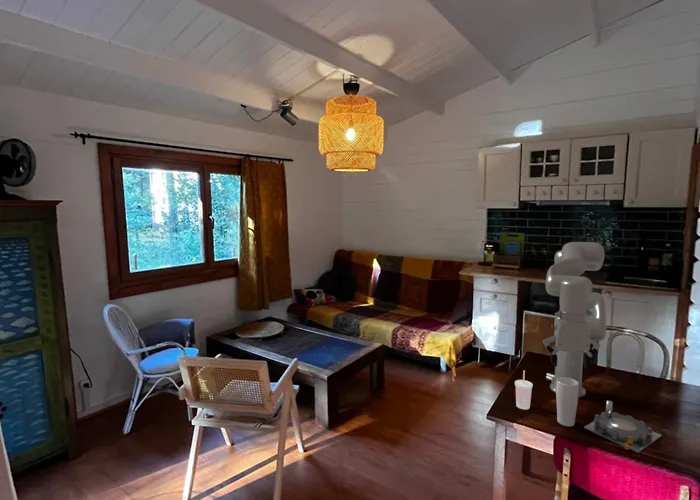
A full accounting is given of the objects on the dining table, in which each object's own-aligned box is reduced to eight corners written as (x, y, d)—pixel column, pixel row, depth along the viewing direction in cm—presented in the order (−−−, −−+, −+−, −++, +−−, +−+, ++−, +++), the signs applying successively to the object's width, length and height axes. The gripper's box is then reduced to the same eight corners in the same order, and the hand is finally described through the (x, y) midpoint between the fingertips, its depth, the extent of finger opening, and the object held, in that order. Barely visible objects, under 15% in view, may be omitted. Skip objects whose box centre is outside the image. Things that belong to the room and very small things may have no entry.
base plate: (580, 429, 131) (580, 425, 130) (608, 414, 140) (608, 410, 140) (635, 455, 117) (635, 450, 117) (661, 436, 126) (662, 432, 126)
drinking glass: (550, 418, 138) (552, 377, 136) (568, 417, 138) (570, 376, 137) (562, 429, 131) (564, 386, 130) (581, 427, 132) (583, 385, 130)
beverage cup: (513, 408, 145) (514, 372, 144) (515, 401, 151) (516, 365, 149) (531, 412, 142) (532, 375, 141) (532, 404, 148) (533, 368, 146)
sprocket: (621, 447, 120) (623, 425, 119) (582, 420, 135) (583, 400, 135) (665, 441, 123) (667, 419, 122) (622, 415, 138) (623, 396, 137)
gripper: (547, 318, 129) (545, 368, 131) (605, 321, 125) (603, 372, 127) (541, 312, 136) (539, 360, 138) (596, 314, 133) (594, 363, 134)
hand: (570, 366), depth 132 cm, fingers open, 9 cm apart
